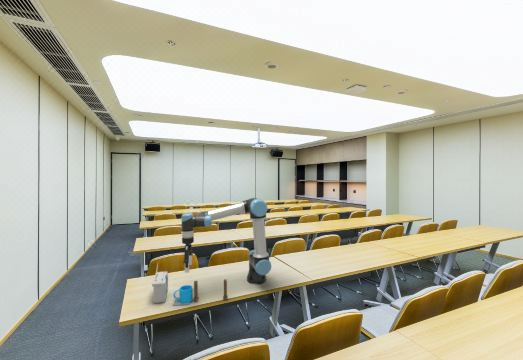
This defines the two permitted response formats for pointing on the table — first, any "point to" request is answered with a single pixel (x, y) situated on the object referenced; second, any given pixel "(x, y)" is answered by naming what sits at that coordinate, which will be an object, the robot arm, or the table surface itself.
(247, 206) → the robot arm
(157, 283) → the stereo radio cassette player
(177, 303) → the grey mat
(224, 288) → the walnut standards
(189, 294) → the mug
